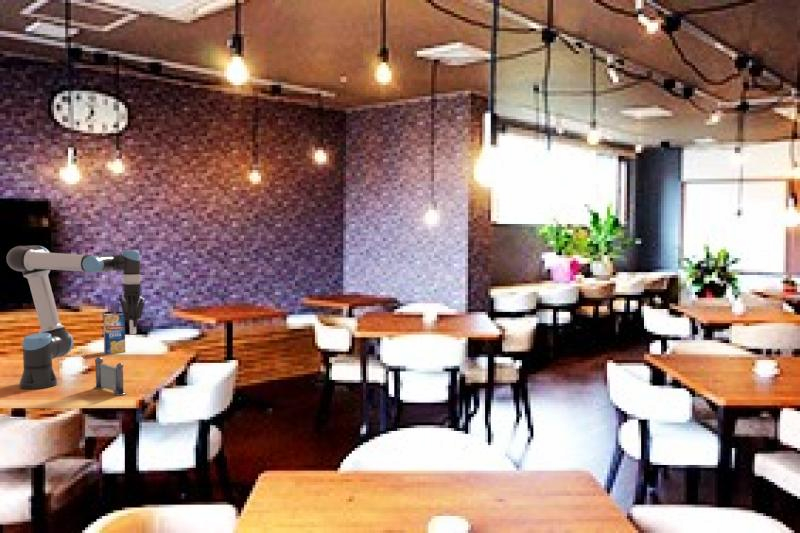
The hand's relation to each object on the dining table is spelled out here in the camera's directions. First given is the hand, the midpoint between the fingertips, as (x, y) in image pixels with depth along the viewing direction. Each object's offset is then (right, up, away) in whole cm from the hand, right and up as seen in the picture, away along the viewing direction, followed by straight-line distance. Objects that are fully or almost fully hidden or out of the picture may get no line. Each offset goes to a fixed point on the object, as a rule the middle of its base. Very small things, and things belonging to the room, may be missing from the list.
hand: (133, 333), depth 330 cm
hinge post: (-10, -23, -13) cm, 28 cm away
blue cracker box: (-41, -19, +81) cm, 92 cm away
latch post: (+4, -24, -25) cm, 35 cm away
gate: (-3, -22, -19) cm, 30 cm away
